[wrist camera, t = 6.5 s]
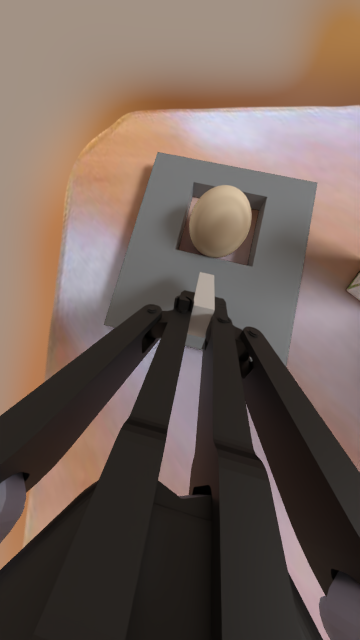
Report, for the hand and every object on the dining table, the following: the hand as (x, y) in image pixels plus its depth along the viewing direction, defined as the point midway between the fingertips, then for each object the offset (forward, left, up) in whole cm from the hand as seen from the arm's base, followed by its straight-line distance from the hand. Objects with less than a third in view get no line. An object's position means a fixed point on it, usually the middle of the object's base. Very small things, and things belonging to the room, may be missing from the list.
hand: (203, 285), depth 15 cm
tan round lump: (-6, -5, -1) cm, 8 cm away
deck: (-5, -3, -4) cm, 7 cm away
